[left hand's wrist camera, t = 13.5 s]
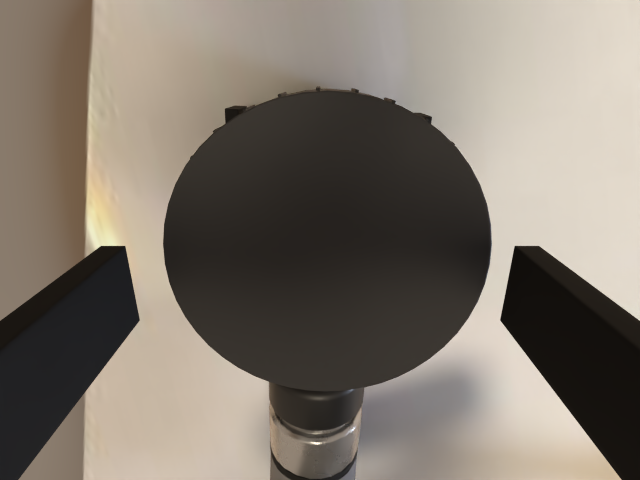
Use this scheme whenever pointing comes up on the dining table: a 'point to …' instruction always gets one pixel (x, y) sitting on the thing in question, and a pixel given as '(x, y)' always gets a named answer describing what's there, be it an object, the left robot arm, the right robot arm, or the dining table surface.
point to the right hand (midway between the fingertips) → (328, 110)
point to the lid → (327, 240)
